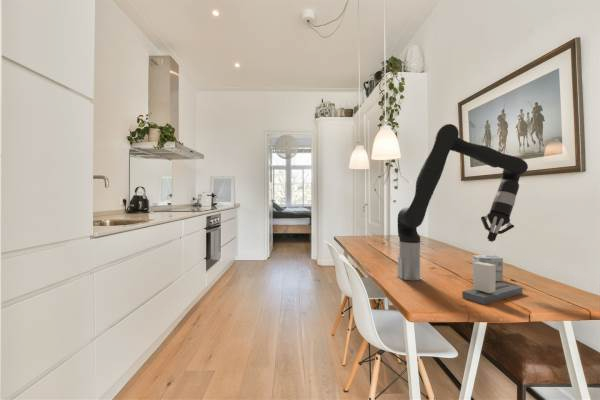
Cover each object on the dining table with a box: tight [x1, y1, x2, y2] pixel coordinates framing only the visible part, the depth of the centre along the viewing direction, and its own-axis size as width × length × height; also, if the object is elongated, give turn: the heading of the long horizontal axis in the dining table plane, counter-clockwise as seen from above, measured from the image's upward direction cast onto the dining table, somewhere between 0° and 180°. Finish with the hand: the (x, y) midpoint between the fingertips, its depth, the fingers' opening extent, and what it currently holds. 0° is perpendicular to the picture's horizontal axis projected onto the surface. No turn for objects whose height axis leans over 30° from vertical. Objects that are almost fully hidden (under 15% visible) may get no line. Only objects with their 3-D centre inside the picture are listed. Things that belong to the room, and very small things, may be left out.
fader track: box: [461, 281, 523, 305], centre depth 115 cm, size 26×9×3 cm, turn 118°
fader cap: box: [472, 262, 497, 293], centre depth 112 cm, size 4×6×10 cm, turn 28°
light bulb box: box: [472, 254, 504, 282], centre depth 138 cm, size 11×7×11 cm, turn 84°
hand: (490, 241), depth 128 cm, fingers closed
